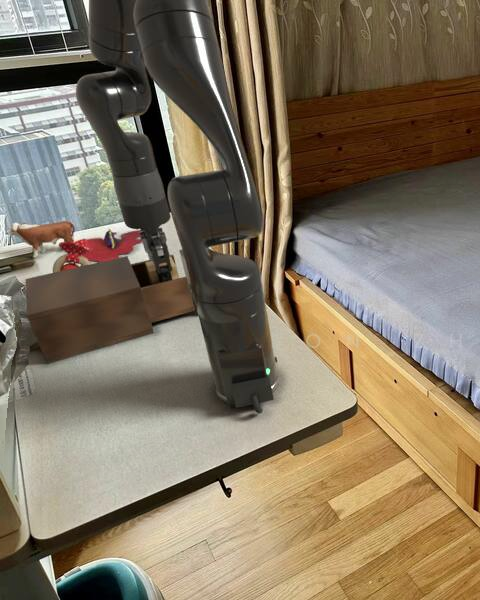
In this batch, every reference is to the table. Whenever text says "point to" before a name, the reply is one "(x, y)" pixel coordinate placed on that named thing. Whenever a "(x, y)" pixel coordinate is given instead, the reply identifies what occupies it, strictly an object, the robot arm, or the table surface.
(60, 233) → the bull figurine
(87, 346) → the cabinet
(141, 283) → the drawer
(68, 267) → the bird rattle
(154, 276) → the beech block
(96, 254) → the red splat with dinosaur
